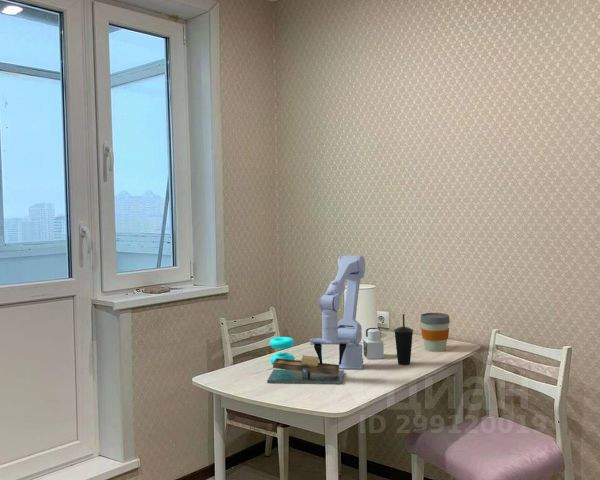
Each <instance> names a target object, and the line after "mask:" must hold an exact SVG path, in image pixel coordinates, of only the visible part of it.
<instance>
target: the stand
mask: <svg viewBox="0 0 600 480" xmlns="http://www.w3.org/2000/svg"><path fill="white" fill-rule="evenodd" d="M344 374H345V370H344V369H341V370H340V369H339V373H338V375H330V374H321V373H312V372H308V368H307V367H302V371H294V370H285V369H276V368H273V370H272V371H271V373H270V375H269V377H268V378H267V380H266V383H267V384H292V385H293V384H294V385H295V384H299V385H301V384H302V385H303V384H304V385H305V384H306V385H307V384H308V385H311V384H312V385H343V381H344Z"/></svg>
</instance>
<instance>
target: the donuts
mask: <svg viewBox="0 0 600 480" xmlns="http://www.w3.org/2000/svg"><path fill="white" fill-rule="evenodd" d="M294 345H295V340H294V338H292V337H288V336H276V337H273V338H271V339H270V341H269V346H270V347H271V348H273V349H276V350H286V349H287V350H288V349H290V348H292V347H293V346H294ZM276 358H281V359H290V360H296V358H295V356H294V355H293V354H292V353H288V352H277V353H274V354H273V355H272V356H271V357H270V358H269V362H270V363H271V364H272V365H273V362H274V360H275V359H276Z"/></svg>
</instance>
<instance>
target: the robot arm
mask: <svg viewBox="0 0 600 480" xmlns="http://www.w3.org/2000/svg"><path fill="white" fill-rule="evenodd" d="M337 268H338V271H337V273H336V275H335V279H334V280H331V281H330V283H329V285H328V287H327V290H326V292H325V294H323V295H321V296H320V297H319V301H318V307H319V310H320V315H321V333H322V335H321V337H317V338H310V339H309V341H310V342H309V343H310V345H311V346H313V348H314V350H315V352H316V356H317V357H318V358H319V363H320V364H321V365H322V363H323V355H322V345H338V353H339V354H338V355H339V357H338V360H339V361H338V364H337V365H339V370H340V369H341V370H344V369H345V370H362V369H363V364H364V358H363V344H360V343H361V341H362V338H363V333H362V325H361V324H360V323H359V322H358V321H357V319H356V318H357V311H358V301H359V292H360V283H361V279H362V278H364V277H365V274H366V273H365V271H366V260H365V257H364V255H344V254H340V255H339V256H338V259H337ZM346 280H347V283H346V284H347V285H346V286H345V282H346ZM345 287H346V292H345V301H344V309H343V316H342V318H341V319H339V318H338V315H339V314H338V311H339V310H340V308H341V300H342V298H341V297H342V296H343V293H344V290H345ZM338 319H339V321H338Z"/></svg>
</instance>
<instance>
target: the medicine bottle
mask: <svg viewBox="0 0 600 480" xmlns="http://www.w3.org/2000/svg"><path fill="white" fill-rule="evenodd" d="M381 336H382V335H381V329H379V328H378V327H377V328H376V327H369V328H366V329H365V338H363V344H362V345H363V356H364V357H365V358H366V360H379V359H380V360H381V359H384V358H385V357H384V356H385V355H384V354H385V353H384V352H385V351H384V341H383V340H382V339H381Z"/></svg>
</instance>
